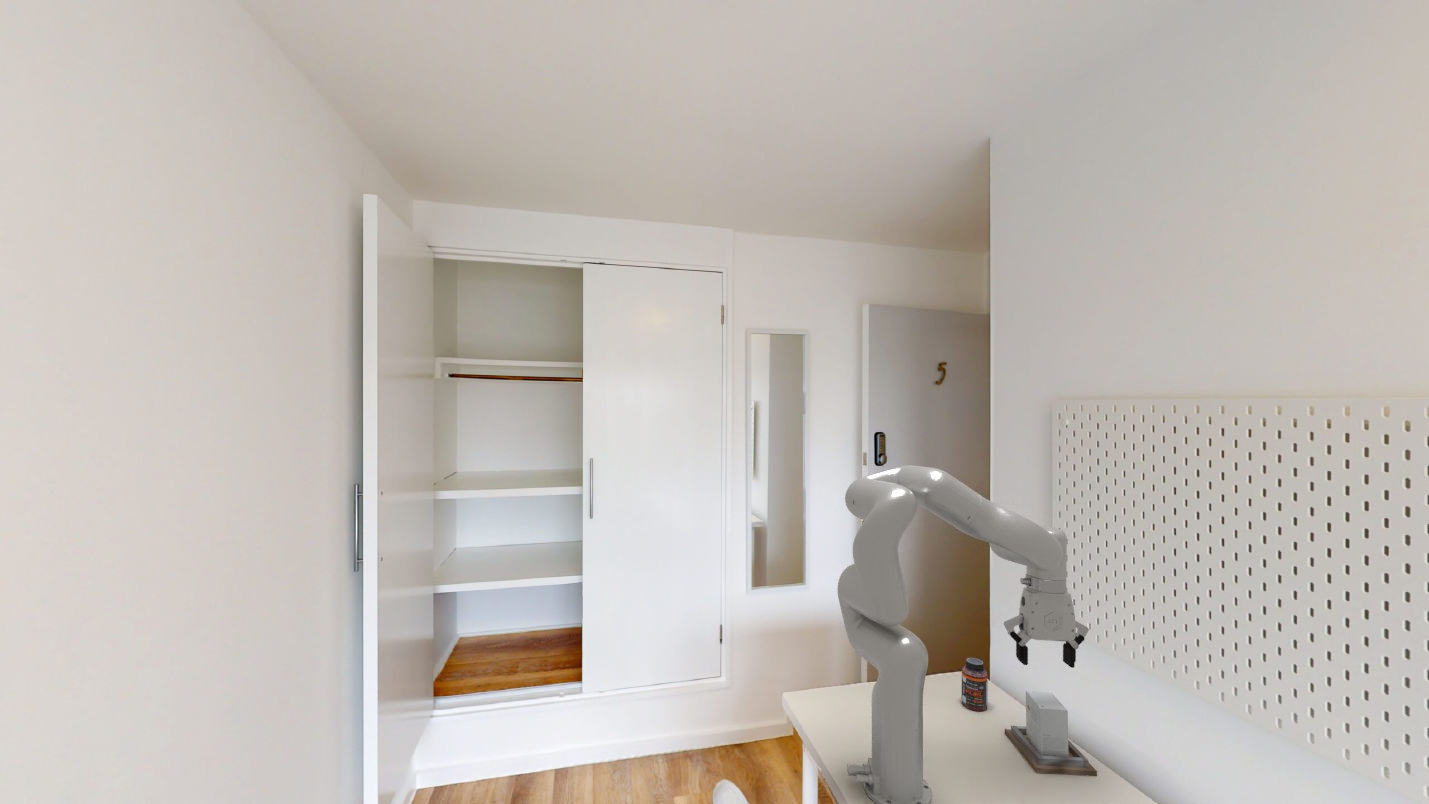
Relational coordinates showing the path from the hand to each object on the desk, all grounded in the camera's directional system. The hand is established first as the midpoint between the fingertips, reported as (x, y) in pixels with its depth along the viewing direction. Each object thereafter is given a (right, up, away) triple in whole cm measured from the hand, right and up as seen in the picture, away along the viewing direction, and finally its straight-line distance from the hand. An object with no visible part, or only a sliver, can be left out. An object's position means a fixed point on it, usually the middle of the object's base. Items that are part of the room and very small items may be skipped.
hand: (1045, 663), depth 119 cm
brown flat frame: (0, -19, 0) cm, 19 cm away
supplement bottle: (-6, -20, +19) cm, 28 cm away
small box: (0, -19, 0) cm, 19 cm away
